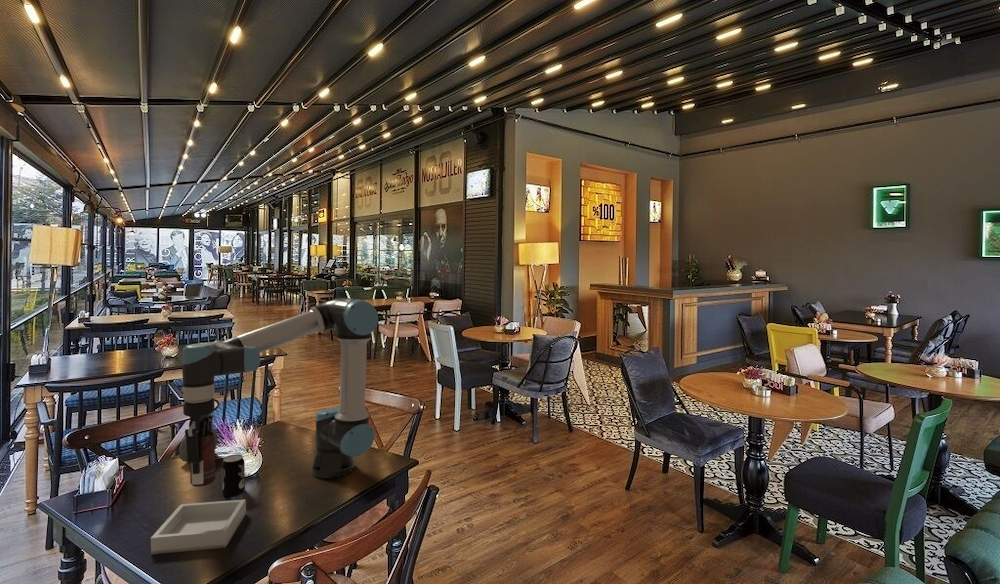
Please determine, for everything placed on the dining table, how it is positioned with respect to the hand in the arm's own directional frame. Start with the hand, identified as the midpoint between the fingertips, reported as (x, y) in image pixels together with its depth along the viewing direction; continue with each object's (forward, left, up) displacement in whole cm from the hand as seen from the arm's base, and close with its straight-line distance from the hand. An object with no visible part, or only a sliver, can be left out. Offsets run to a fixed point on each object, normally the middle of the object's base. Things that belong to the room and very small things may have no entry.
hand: (200, 480), depth 138 cm
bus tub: (0, 0, -15) cm, 15 cm away
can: (0, -1, -1) cm, 2 cm away
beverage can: (-1, -24, -16) cm, 29 cm away
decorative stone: (+21, -56, -16) cm, 62 cm away
